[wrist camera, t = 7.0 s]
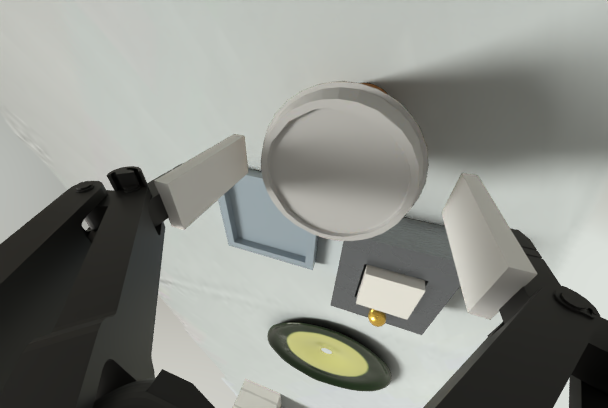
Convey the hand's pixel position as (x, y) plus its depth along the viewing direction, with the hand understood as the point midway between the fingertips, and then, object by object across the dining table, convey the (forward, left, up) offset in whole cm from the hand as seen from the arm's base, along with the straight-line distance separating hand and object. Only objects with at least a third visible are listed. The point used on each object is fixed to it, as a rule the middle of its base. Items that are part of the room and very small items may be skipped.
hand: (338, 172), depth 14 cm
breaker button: (+17, +7, -9) cm, 20 cm away
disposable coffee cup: (0, 0, -10) cm, 10 cm away
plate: (+52, +2, -11) cm, 53 cm away
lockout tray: (+15, -10, -10) cm, 20 cm away
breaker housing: (+17, +7, -10) cm, 21 cm away
